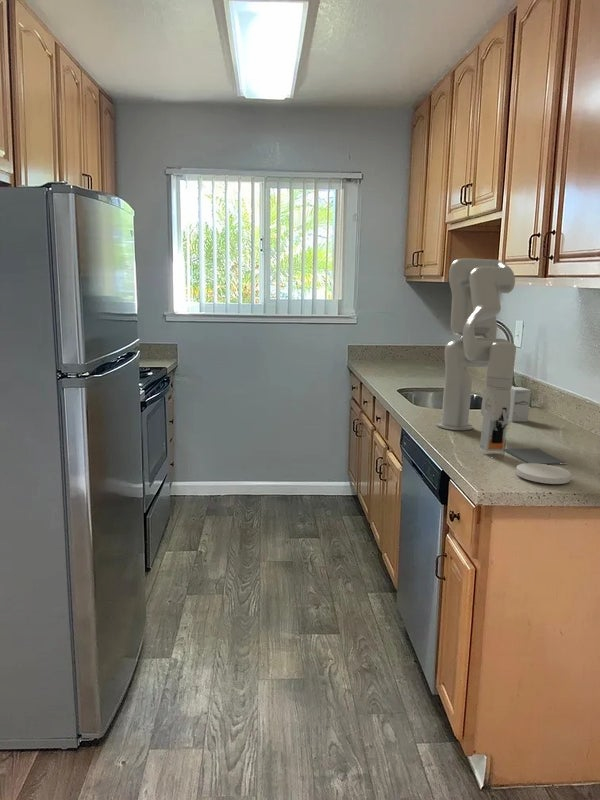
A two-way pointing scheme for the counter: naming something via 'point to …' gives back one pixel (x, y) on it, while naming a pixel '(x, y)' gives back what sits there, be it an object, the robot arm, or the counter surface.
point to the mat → (533, 456)
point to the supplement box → (519, 404)
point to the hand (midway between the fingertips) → (492, 440)
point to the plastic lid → (543, 473)
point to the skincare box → (490, 435)
